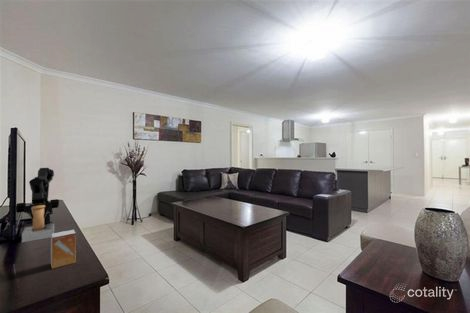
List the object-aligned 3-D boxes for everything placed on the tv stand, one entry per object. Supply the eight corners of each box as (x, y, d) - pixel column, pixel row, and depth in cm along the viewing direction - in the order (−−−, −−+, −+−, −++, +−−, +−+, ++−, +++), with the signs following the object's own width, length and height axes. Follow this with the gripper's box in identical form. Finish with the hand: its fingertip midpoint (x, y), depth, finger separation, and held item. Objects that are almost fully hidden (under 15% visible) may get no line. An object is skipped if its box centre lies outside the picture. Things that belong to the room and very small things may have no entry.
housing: (21, 242, 117) (21, 234, 117) (25, 235, 127) (25, 227, 127) (53, 236, 125) (53, 229, 125) (54, 230, 135) (54, 223, 135)
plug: (28, 230, 123) (28, 207, 123) (39, 226, 129) (39, 204, 129) (37, 230, 122) (37, 207, 122) (47, 227, 128) (47, 205, 128)
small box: (51, 269, 89) (51, 237, 89) (50, 263, 93) (50, 233, 93) (76, 262, 94) (76, 232, 94) (73, 257, 99) (73, 229, 99)
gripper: (16, 189, 122) (14, 212, 114) (58, 186, 135) (60, 206, 127) (16, 201, 128) (15, 224, 120) (57, 197, 141) (59, 217, 133)
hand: (38, 217), depth 125 cm, fingers closed on plug, 5 cm apart
